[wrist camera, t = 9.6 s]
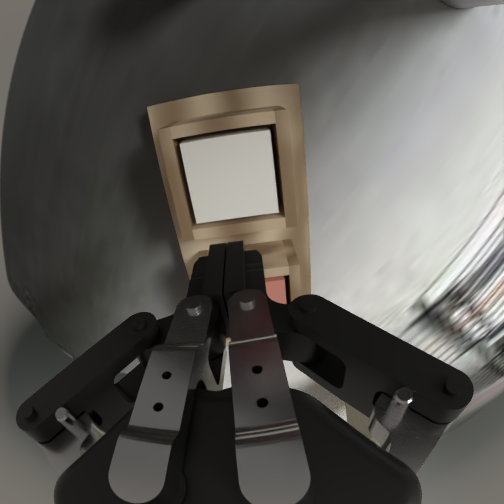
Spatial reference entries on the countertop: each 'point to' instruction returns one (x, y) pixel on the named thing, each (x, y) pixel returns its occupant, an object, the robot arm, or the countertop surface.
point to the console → (285, 166)
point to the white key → (230, 174)
